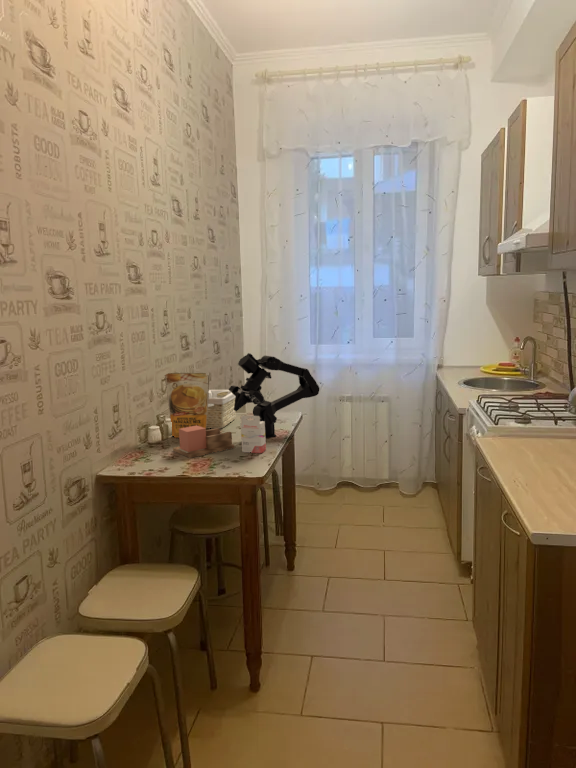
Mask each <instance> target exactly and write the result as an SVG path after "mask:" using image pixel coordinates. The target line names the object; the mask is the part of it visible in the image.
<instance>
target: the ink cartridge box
mask: <svg viewBox="0 0 576 768" xmlns="http://www.w3.org/2000/svg"><path fill="white" fill-rule="evenodd" d="M249 419H251V420H249ZM240 433H241V434H240V435H241V436H240V437H241V451H242V453H250V452H251V453H252V454H262V453H264V452H266V451H267V443H266V442H267V440H266V438H267V437H266V438H265V421H260V417H259V416H254V415H243V414H242V415H241V416H240Z"/></svg>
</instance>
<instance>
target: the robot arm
mask: <svg viewBox="0 0 576 768" xmlns="http://www.w3.org/2000/svg"><path fill="white" fill-rule="evenodd" d="M237 364H238V366H239V367H240V368H241V369H242V371H245V373H247V374H248V375H250V374H251V375H250V376H249V377H246V379H245V381H246V382H245V384H244V385H241V386H237V385H230V386H229V388H228V390H229V391H231V392H232V393H233V394H234V395H235V396H236V397H235V405H234V410H235V411H236V412H237V411H239V410H240V409H241V408H243V407H244V406H245V405H247V404H250V403H251V404H252V403H253V404H254V407H253V408H252V409H253V410H252V416H259V417H260V421H265V438H271V437H276V436H277V434H276V432H275V431H276V429H275V424H276V423H277V419H278V417H277V416H275V414H276V413H277V412H278V411H280V410H282V409H284V408H286V407H288V406H290V405H292V404H295V403H297V402H298V401H300V400H302V399H307V398H308V399H309V398H313V397H316V396H318V395H319V393H320V386H319V385H318V384H317V381H316V380H315V378H314V377H313V376H312V374H311V372H310V370H309V369H308V368H304V367H299V366H297V365H293V364H290V363H286V362H284V361H282V360H280V359H279V358H277V357H275V356H271V355H263V356H262V357H261V358H259V359H257V358H255V357H254V356H253V354H251V353H249V352H248V353H247V354H245V355H244V356H243V357H242V358H240V359H239V360H238V363H237ZM267 370H269V371H267ZM271 371H280V372H284V373H289V374H291V375H295V376H297V377H298V383H299V386H297V389H295V390H294V391H292V392H289V393H287V394H285V395H283V396H280V397H279V398H277V399H275V400H272V401H268V400H266V399H265V396H263V393H262V392H261V390H262V384H263V383H264V382H265V380H266V379H272V373H271Z"/></svg>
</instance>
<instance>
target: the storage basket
mask: <svg viewBox="0 0 576 768" xmlns="http://www.w3.org/2000/svg"><path fill="white" fill-rule="evenodd" d="M219 396H220V397H219ZM235 397H236V396H235V395H234V394H233V393H232V392H231V391H229V389H209V399H208V411H207V424H206V429H210V428H211V429H215V428H220V429H224V428H225V427H226V426H227V425H229V424H230V422H231V423H232V422H233V421H234V420H235V419H236V418H237V416H236V415H237V411H235V410H234V405H235Z"/></svg>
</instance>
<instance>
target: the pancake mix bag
mask: <svg viewBox="0 0 576 768" xmlns="http://www.w3.org/2000/svg"><path fill="white" fill-rule="evenodd" d="M164 380H165V388H166V395H167V403H168V409H169V418H170V423H171V422H172V436H174V437H173V438H174V439H179V429H181V428H186V427H191V426H196V425H197V426H200V427H203V428H206V424H207V411H208V399H209V390H210V375H209V374H207V372H172V373H171V372H169V373H166V374H165V375H164ZM206 429H207V428H206Z"/></svg>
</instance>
